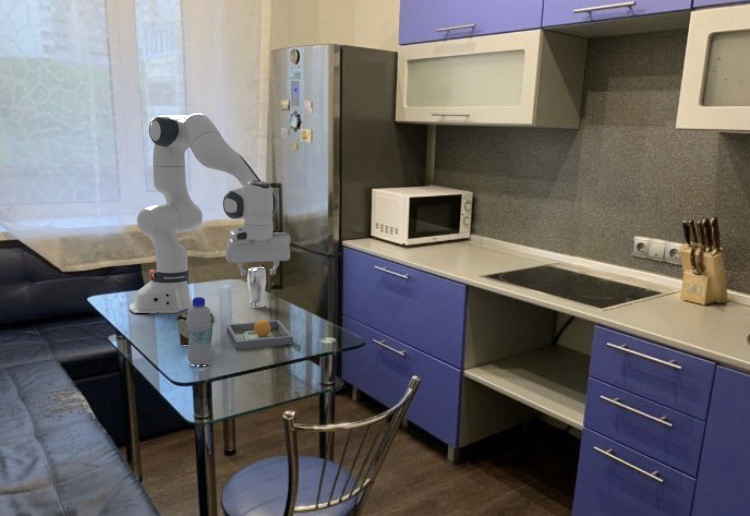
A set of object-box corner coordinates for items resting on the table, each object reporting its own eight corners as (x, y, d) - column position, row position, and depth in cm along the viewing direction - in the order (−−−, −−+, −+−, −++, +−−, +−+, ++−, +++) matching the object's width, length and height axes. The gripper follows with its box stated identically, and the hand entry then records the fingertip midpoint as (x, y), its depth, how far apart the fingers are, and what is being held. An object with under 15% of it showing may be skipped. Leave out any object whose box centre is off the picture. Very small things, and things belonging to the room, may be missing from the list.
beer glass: (261, 309, 224) (261, 271, 221) (244, 307, 225) (244, 269, 222) (268, 304, 230) (268, 267, 227) (251, 303, 232) (251, 266, 229)
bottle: (202, 358, 173) (201, 293, 169) (216, 364, 169) (215, 297, 165) (182, 364, 168) (181, 297, 164) (196, 371, 164) (194, 302, 160)
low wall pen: (236, 349, 181) (236, 342, 180) (226, 331, 197) (226, 324, 197) (293, 344, 188) (293, 336, 188) (279, 327, 204) (279, 320, 204)
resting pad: (247, 343, 187) (247, 340, 187) (242, 334, 195) (242, 331, 195) (275, 340, 190) (275, 337, 190) (269, 332, 198) (269, 328, 198)
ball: (253, 336, 189) (259, 320, 189) (249, 330, 194) (256, 315, 194) (268, 341, 191) (275, 325, 191) (264, 335, 196) (271, 320, 196)
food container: (221, 341, 188) (221, 311, 186) (214, 348, 182) (214, 317, 180) (184, 338, 189) (183, 309, 187) (176, 345, 183) (175, 314, 181)
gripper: (288, 230, 193) (287, 271, 196) (224, 231, 185) (224, 274, 188) (293, 233, 187) (292, 275, 190) (228, 235, 179) (228, 278, 182)
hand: (258, 275), depth 189 cm, fingers open, 8 cm apart
